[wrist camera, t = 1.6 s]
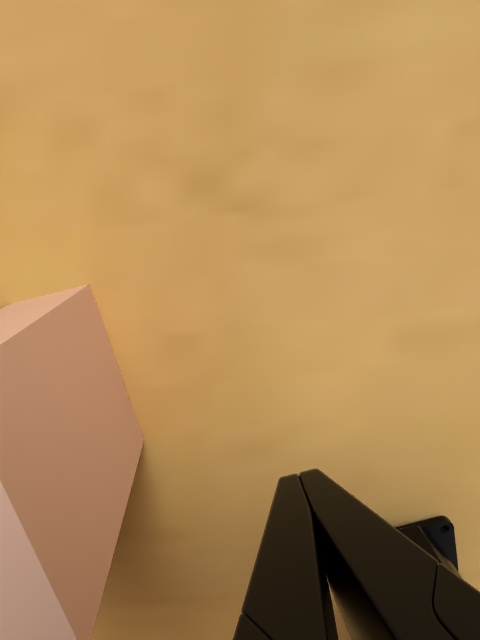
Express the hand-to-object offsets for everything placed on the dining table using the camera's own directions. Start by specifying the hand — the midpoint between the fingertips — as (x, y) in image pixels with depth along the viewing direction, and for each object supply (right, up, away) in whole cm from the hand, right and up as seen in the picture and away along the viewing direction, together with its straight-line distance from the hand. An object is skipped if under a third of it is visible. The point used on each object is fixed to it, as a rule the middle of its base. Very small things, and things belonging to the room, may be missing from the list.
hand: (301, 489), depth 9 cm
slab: (-9, +1, +10) cm, 13 cm away
